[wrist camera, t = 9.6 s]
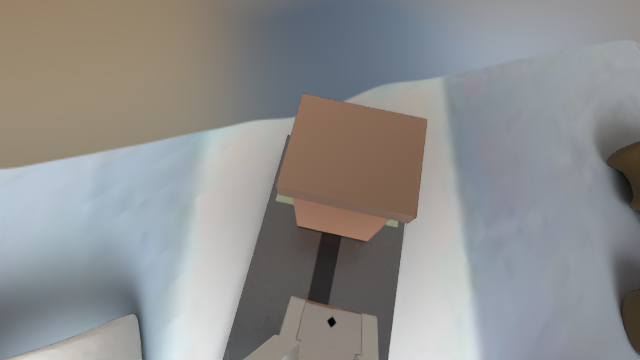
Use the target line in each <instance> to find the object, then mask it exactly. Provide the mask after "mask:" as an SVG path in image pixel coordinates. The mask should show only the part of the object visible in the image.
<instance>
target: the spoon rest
mask: <svg viewBox="0 0 640 360" xmlns="http://www.w3.org/2000/svg"><path fill="white" fill-rule="evenodd" d="M2 360H142V353H141V340H140V331H139V324H138V320H137V317H136V316H135V315H134V314H131V315H127V316H124V317H121V318H118V319H115V320H112V321H109V322H107V323H105V324H102V325H100V326H98V327H96V328H93V329H91V330H88V331H86V332H83V333H81V334H78V335H75V336H73V337H70V338H68V339H65V340H62V341H59V342H57V343H54V344H51V345H48V346H45V347H42V348H39V349H36V350H33V351H30V352H26V353H23V354H20V355H17V356H13V357H10V358H6V359H2Z"/></svg>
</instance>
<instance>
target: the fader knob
mask: <svg viewBox="0 0 640 360" xmlns="http://www.w3.org/2000/svg"><path fill="white" fill-rule="evenodd" d="M426 127H427V119H423V118H419V117H414V116H409V115H404V114H399V113H394V112H389V111H385V110H380V109H375V108H370V107H365V106H360V105H355V104H351V103H346V102H341V101H336V100H331V99H326V98H321V97H317V96H311V95H307V94H302V98H301V101H300V105H299V108H298V112H297V115H296V119H295V122H294V126H293V129H292V133H291V136H290V140H289V143H288V147H287V150H286V154H285V157H284V161H283V164H282V168H281V171H280V175H279V178H278V182H277V185H276V187H277V191H278V194H279V195H282V196H286V197H291V198H293V202H294V208H295V215H296V221H297V226H301V227H305V228H310V229H314V230H319V231H323V232H327V233H332V234H336V235H341V236H345V237H350V238H354V239H359V240H363V241H368V240H369V239H370V238H371V237H372V236H373V235H375V234H376V233H377V232H378V231H379V230H380V229H381V228H382V227H383V226H384V225H385V224H386V223H387V222H388V221H389V220H395V221H399V222H404V223H409V222H410V221H412V220H413V219H414V218H416V216H417V207H418V198H419V189H420V180H421V171H422V162H423V154H424V145H425V136H426Z"/></svg>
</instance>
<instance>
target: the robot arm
mask: <svg viewBox="0 0 640 360" xmlns="http://www.w3.org/2000/svg"><path fill="white" fill-rule="evenodd" d="M305 301H306V302H305ZM244 360H379V358H378V331H377V318H376V316H372V315H368V314H364V313H359V312H355V311H351V310H346V309H342V308H338V307H332V306H328V305H325V304H321V303H317V302H313V301H310V300H305V299H301V298H297V297H294V296H292V297H291V299H290V301H289V305H288V308H287V311H286V314H285V318H284V321H283V324H282V328H281V331H280V334H279V335H274V336H272V337H271V338H270V339H269V340H267V341H266V342H265V343H264V344H262V345H261V346H260V347H259V348H257V349H256V350H255V351H254V352H252V353H251V354H250V355H249V356H247V357H246V358H245V359H244Z"/></svg>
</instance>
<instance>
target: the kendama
mask: <svg viewBox="0 0 640 360" xmlns="http://www.w3.org/2000/svg"><path fill="white" fill-rule="evenodd" d="M607 163H608V165H609V166H611V167H613V168H615V169H617V170H619V171H621V172H622V173H623V174H624V175H625V176H626V177H627V179H628V181H629V182H630V185H631V187H632V190H633V194H634V197H633V200H632V202H631V203H630V207H631V208H632V209H635V210H637V211H639V212H640V141H639V142H636V143H633V144H631V145H628V146H626V147H624V148H621V149H619V150H618V151H616V152H615V153H613V154H612V155H611V156H610V157H609V159H608V161H607ZM621 313H622V318H623V322H624V327H625V330H626V333H627V335H628V337H629V340H630V342H631V344H632V346H633V347H634V349H635V350H636V351H637V353H638V354H639V355H640V289H639V290H635V291H632V292H631V293H630V294H629V295H628V296H627V297H626V298H625V299H624V300H623V306H622V312H621Z"/></svg>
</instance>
